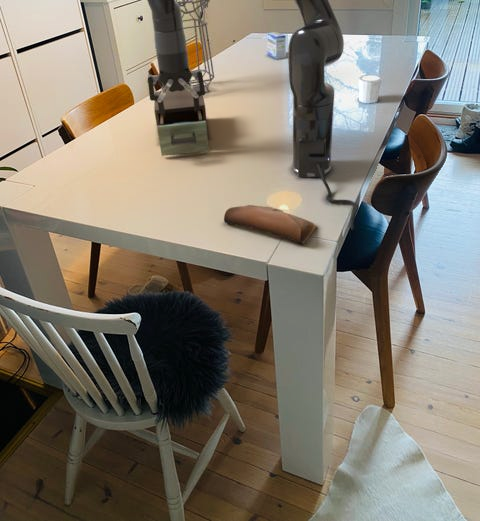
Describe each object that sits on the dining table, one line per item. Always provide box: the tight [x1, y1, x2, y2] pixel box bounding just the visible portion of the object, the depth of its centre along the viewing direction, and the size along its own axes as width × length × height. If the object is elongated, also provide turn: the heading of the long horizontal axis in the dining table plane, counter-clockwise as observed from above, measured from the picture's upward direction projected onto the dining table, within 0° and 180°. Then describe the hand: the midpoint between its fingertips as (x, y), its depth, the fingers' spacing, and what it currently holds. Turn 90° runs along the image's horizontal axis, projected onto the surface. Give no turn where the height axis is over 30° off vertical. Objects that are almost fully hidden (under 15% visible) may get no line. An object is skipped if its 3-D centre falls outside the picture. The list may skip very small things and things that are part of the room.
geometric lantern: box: [175, 0, 215, 93], centre depth 167 cm, size 16×16×35 cm
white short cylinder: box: [358, 74, 382, 104], centre depth 158 cm, size 7×7×7 cm
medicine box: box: [266, 31, 287, 60], centre depth 203 cm, size 8×4×9 cm, turn 25°
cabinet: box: [153, 86, 209, 138], centre depth 146 cm, size 16×14×10 cm
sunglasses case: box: [223, 204, 317, 245], centre depth 104 cm, size 18×7×7 cm
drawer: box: [156, 109, 210, 157], centre depth 136 cm, size 19×13×8 cm, turn 7°
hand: (180, 113), depth 133 cm, fingers open, 8 cm apart
